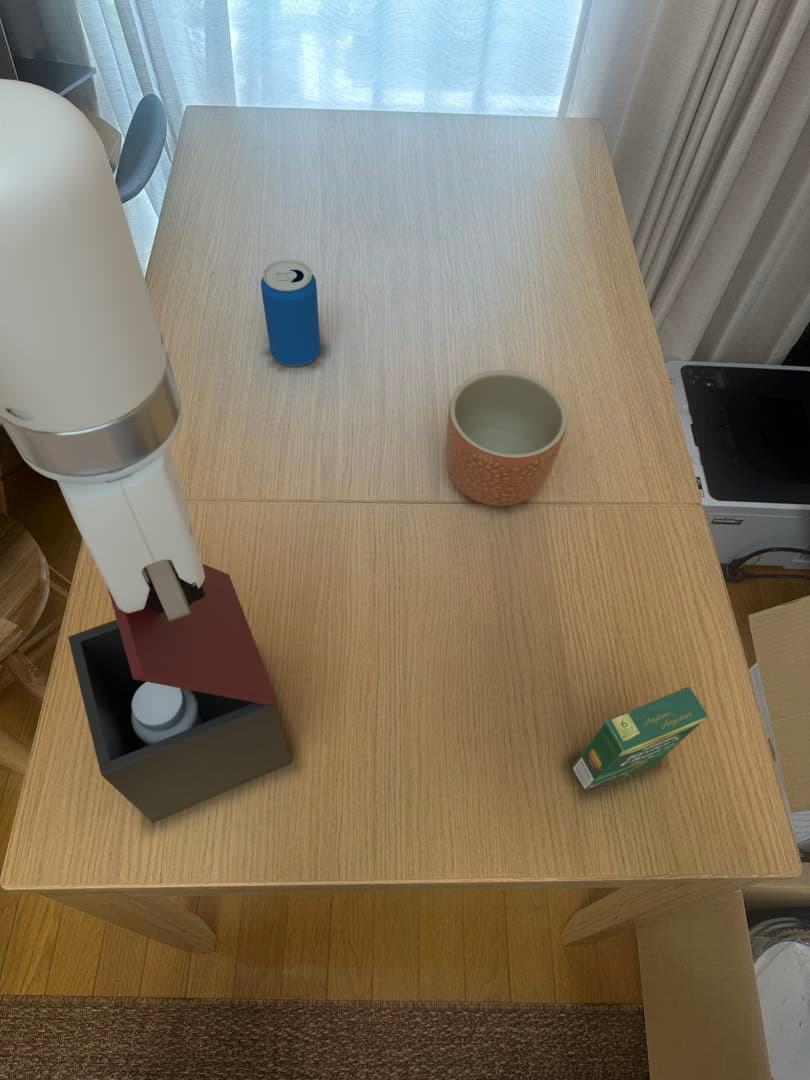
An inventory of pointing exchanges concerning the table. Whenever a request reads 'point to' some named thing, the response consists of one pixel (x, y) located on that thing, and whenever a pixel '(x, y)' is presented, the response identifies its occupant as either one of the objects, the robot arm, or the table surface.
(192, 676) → the keepsake box lid
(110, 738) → the dark gray box
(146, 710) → the pill bottle
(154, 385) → the robot arm
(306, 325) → the beverage can
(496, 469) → the planter
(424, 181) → the table surface
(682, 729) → the coffee box
